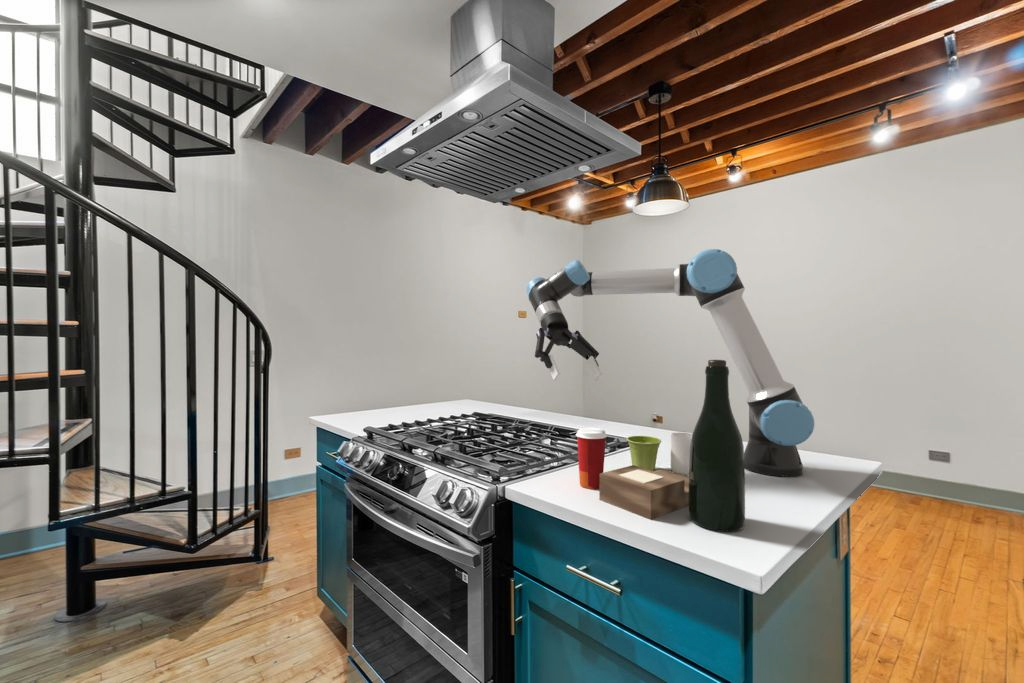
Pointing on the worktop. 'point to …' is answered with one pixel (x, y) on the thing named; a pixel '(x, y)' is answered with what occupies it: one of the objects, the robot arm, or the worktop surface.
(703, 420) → the dark green wine bottle
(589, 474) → the paper cup
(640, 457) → the plant pot
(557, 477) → the worktop surface
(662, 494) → the step riser
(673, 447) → the mug
